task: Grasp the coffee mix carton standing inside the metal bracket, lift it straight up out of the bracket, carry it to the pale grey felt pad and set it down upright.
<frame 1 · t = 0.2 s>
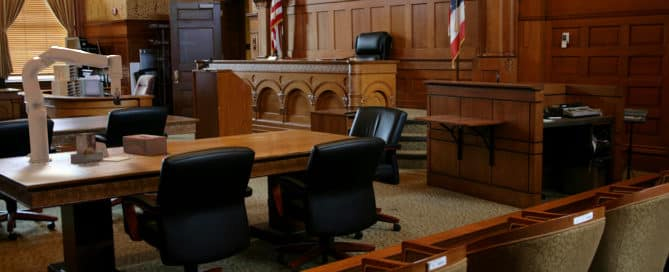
hand: (117, 104, 419), 31 cm above the table, tool pointing down, fingers open, 9 cm apart
tissue box cover: (145, 153, 438), on the table
coffee box: (87, 162, 402), resting in metal bracket
metal bracket: (87, 161, 402), on the table
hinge: (93, 157, 421), on the table
felt pad: (115, 159, 408), on the table
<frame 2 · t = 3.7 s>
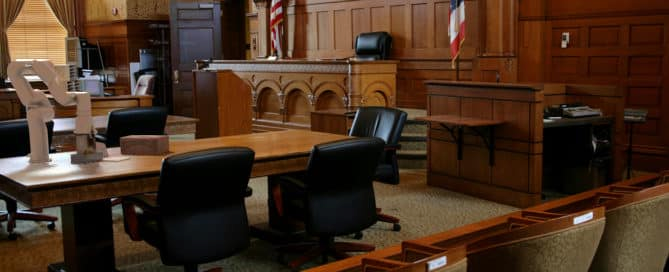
hand: (86, 144, 401), 10 cm above the table, tool pointing down, fingers closed on coffee box, 7 cm apart
coffee box: (87, 161, 402), resting in metal bracket, touching gripper
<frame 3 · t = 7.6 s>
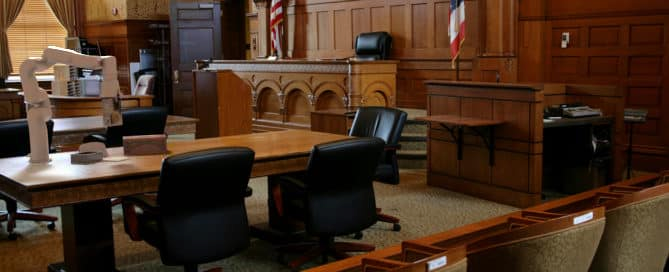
hand: (111, 108, 404), 30 cm above the table, tool pointing down, fingers closed on coffee box, 7 cm apart
coffee box: (112, 125, 405), point 20 cm above the table, touching gripper
when the fingers open (11 cm above the table, at t = 11.8 s): coffee box stays where it is, resting on felt pad.
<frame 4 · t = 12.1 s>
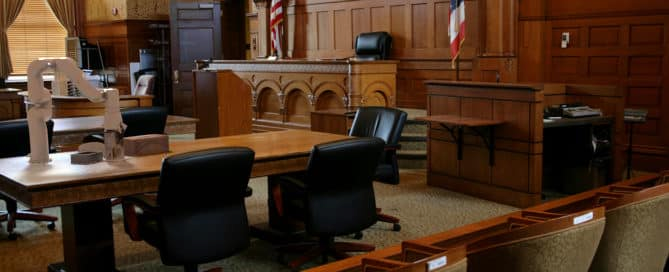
hand: (114, 139, 406), 12 cm above the table, tool pointing down, fingers open, 9 cm apart
coffee box: (114, 159, 407), resting on felt pad
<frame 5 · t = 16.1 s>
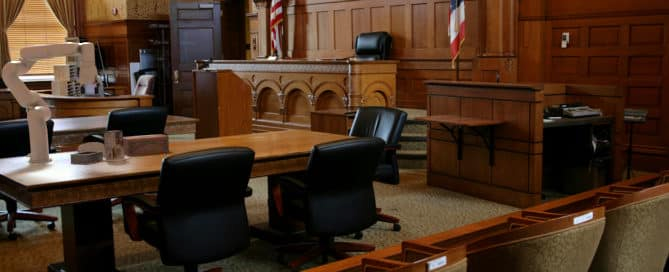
hand: (89, 94, 405), 38 cm above the table, tool pointing down, fingers open, 9 cm apart
at the end: coffee box inside the target area on the felt pad (0.3 cm from its centre), point 0.4 cm above the felt pad's base; coffee box tilted 0°; the gripper is holding nothing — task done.
